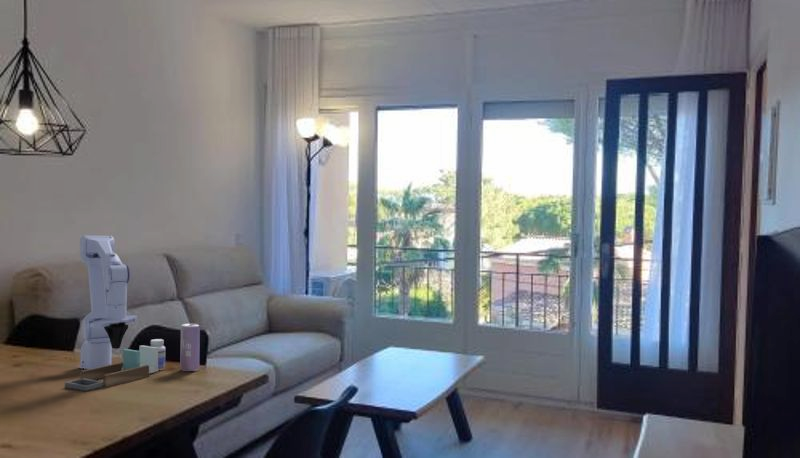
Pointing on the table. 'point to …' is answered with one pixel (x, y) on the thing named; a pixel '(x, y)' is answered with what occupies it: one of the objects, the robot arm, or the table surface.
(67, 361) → the table surface
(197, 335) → the beverage can
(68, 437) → the table surface
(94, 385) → the tray
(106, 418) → the table surface
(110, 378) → the channel
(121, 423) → the table surface
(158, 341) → the pill bottle
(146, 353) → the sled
